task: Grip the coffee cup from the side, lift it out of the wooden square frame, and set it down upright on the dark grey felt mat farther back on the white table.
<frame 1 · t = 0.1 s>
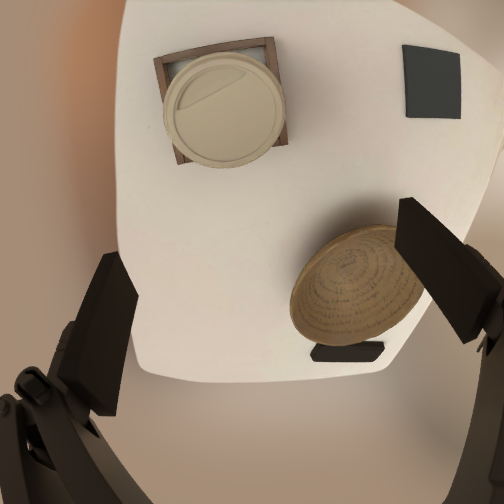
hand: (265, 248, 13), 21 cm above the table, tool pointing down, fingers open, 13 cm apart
remote control: (348, 348, 53), on the table
coffee cup: (222, 97, 28), resting in wooden square frame
wooden square frame: (222, 97, 28), on the table
felt mat: (433, 83, 27), on the table
bowl: (344, 258, 41), on the table
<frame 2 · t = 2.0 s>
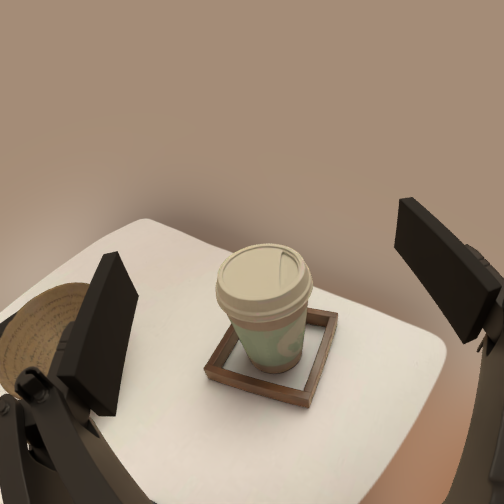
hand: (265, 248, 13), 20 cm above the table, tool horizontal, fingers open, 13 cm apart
remote control: (12, 331, 41), on the table
coffee cup: (275, 352, 33), resting in wooden square frame
wooden square frame: (275, 352, 33), on the table
bowl: (77, 370, 33), on the table
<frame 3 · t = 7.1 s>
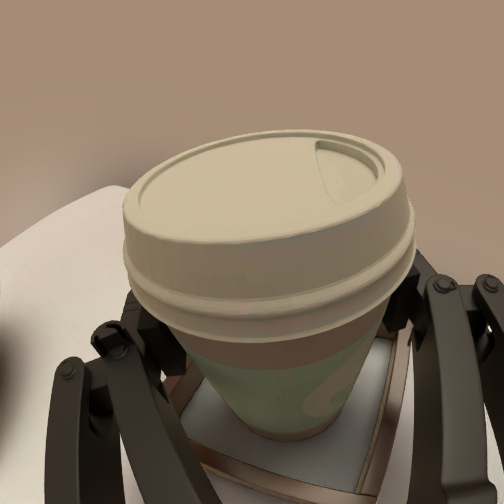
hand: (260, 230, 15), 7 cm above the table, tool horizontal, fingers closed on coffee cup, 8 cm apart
coffee cup: (290, 393, 15), resting in wooden square frame, touching gripper
wooden square frame: (289, 392, 15), on the table
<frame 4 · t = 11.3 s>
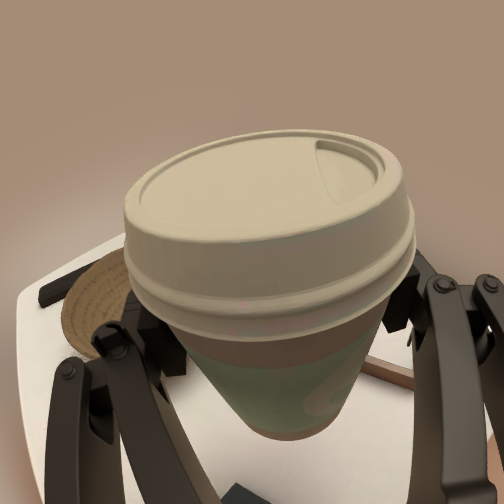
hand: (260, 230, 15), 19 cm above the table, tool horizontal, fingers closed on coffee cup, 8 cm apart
remote control: (75, 285, 46), on the table
coffee cup: (290, 393, 15), point 11 cm above the table, touching gripper
wooden square frame: (383, 332, 30), on the table
bowl: (157, 334, 35), on the table
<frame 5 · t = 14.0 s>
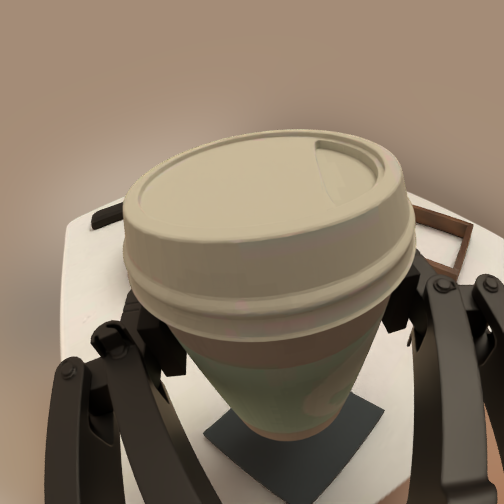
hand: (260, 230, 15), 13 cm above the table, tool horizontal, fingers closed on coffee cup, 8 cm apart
remote control: (130, 212, 52), on the table
coffee cup: (290, 393, 15), point 6 cm above the table, touching gripper
wooden square frame: (421, 245, 32), on the table
felt mat: (294, 430, 18), on the table
when the fingers open (8 cm above the table, at t = 15.9 s): coffee cup stays where it is, resting on felt mat.
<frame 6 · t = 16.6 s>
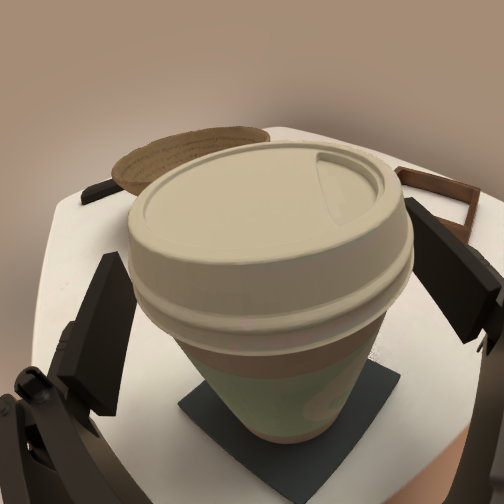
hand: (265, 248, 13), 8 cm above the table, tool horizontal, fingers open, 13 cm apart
remote control: (121, 187, 50), on the table
coffee cup: (289, 397, 15), resting on felt mat
wooden square frame: (427, 208, 29), on the table
felt mat: (290, 400, 15), on the table
bowl: (203, 207, 37), on the table
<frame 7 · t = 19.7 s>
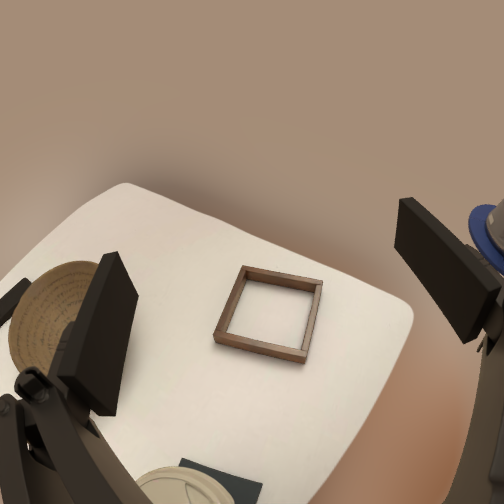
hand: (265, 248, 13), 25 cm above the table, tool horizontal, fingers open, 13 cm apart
remote control: (7, 311, 41), on the table
wooden square frame: (271, 315, 39), on the table
bowl: (87, 345, 37), on the table
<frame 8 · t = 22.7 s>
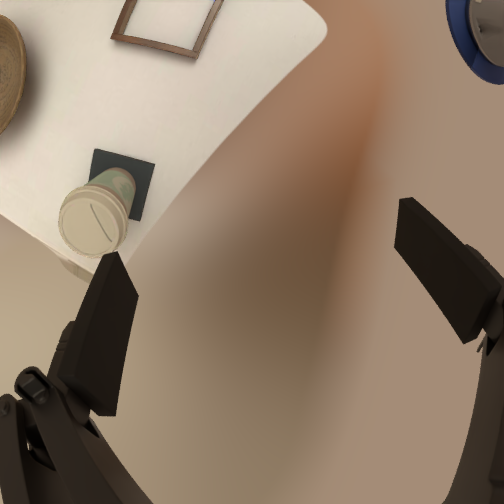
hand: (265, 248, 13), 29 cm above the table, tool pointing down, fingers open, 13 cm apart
coffee cup: (117, 186, 39), resting on felt mat
wooden square frame: (171, 9, 27), on the table
felt mat: (118, 184, 39), on the table
bowl: (5, 74, 26), on the table
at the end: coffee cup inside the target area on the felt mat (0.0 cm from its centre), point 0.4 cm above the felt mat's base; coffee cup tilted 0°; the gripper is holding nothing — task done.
